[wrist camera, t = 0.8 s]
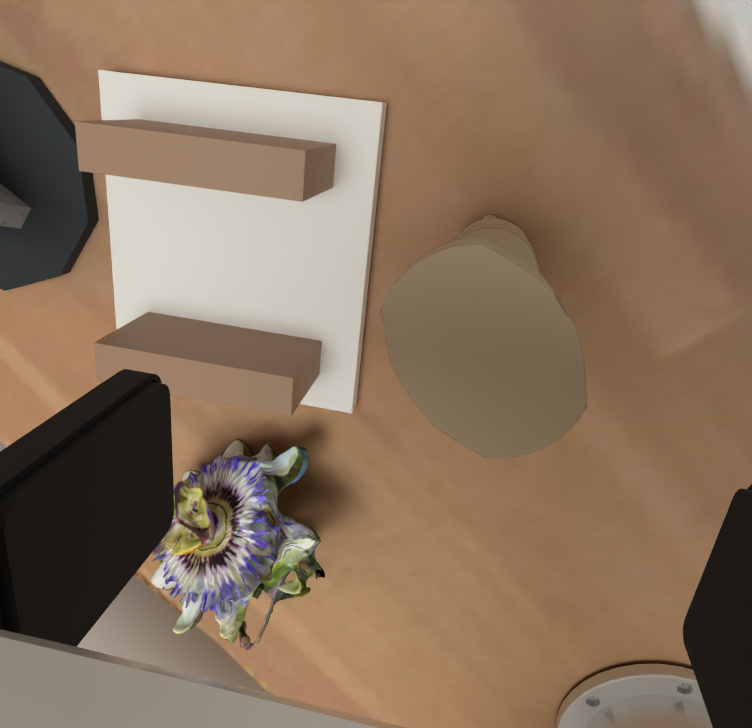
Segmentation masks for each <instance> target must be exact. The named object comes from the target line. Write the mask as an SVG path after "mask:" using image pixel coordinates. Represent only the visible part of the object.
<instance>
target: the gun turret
mask: <svg viewBox="0 0 752 728" xmlns="http://www.w3.org/2000/svg"><path fill="white" fill-rule="evenodd" d="M98 220H99V219H98V211H97V204H96V196H95V189H94V181H93V174H92V173H91V172H83V171H79V165H78V153H77V142H76V130H75V126H74V124H73V123H72V121H71V120H70V119H69V117H68V116H67V115H66V113H65V112H64V111H63V109H62V108H61V106H60V105H59V104H58V102H57V101H56V100H55V98H54V97H53V95H52V94H51V93H50V91H49V90H48V89H47V87H46V86H45V85H44V83H43V82H42V80H41V79H40V78H39V77H37V76H35V75H32V74H30V73H27V72H25V71H23V70H20V69H18V68H15V67H13V66H11V65H8V64H6V63H3V62H1V61H0V289H2V290H5V291H6V290H9V289H13V288H17V287H20V286H24V285H28V284H32V283H35V282H39V281H43V280H46V279H50V278H54V277H58V276H61V275H63V274H66V273H69V272H70V271H71V269H72V267H73V265H74V264H75V262H76V260H77V258H78V256H79V255H80V253H81V251H82V249H83V247H84V245H85V244H86V242H87V240H88V238H89V236H90V235H91V233H92V231H93V229H94V227H95V225H96V224H97V222H98Z"/></svg>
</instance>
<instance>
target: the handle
mask: <svg viewBox="0 0 752 728" xmlns="http://www.w3.org/2000/svg"><path fill="white" fill-rule="evenodd" d="M381 313H382V319H383V325H384V331H385V337H386V342H387V347H388V353H389V357H390V360H391V363H392V366H393V369H394V372H395V374H396V375H397V377H398V379H399V381H400V382H401V384H402V386H403V387H404V388H405V390H406V391H407V393H408V394H409V395H410V397H411V398H412V400H413V401H414V402H415V404H416V405H417V407H418V408H419V409H420V411H421V412H422V413H423V414H424V416H425V417H426V418H427V419H428V420H429V421H430V422H431V424H432V425H434V426H435V427H436V428H438V429H439V430H440V431H442V432H443V433H444V434H445V435H447V436H449V437H450V438H452V439H454V440H455V441H457V442H459V443H460V444H462V445H464V446H465V447H467V448H469V449H471V450H472V451H474V452H476V453H478V454H479V455H481V456H483V457H485V458H513V457H517V456H521V455H526V454H529V453H532V452H534V451H537V450H539V449H542V448H544V447H546V446H548V445H549V444H551V443H553V442H555V441H556V440H558V439H560V438H561V437H562V436H563V435H565V434H566V433H567V432H568V431H570V430H571V429H572V428H573V427H574V425H575V424H576V423H577V422H578V420H579V419H580V418H581V416H582V415H583V413H584V411H585V410H586V408H587V398H586V378H585V364H584V358H583V353H582V349H581V344H580V340H579V337H578V334H577V331H576V329H575V326H574V324H573V322H572V321H571V319H570V317H569V315H568V314H567V312H566V310H565V309H564V307H563V305H562V304H561V302H560V300H559V299H558V297H557V296H556V294H555V293H554V291H553V290H552V288H551V287H550V285H549V284H548V282H547V281H546V280H545V279H544V277H543V276H542V275H541V274H540V273H539V268H538V263H537V259H536V256H535V253H534V250H533V248H532V246H531V244H530V242H529V240H528V239H527V237H526V236H525V234H524V232H523V231H522V230H521V228H520V227H518V226H517V225H514V224H512V223H510V222H508V221H506V220H503V219H497V218H496V217H495V216H494V215H487V216H484V217H483V219H482V220H479V221H476V222H474V223H472V224H471V225H469V226H467V227H466V228H465V229H464V230H462V232H461V233H460V234H459V235H458V236H457V237H456V238H455V240H454V241H452V242H449V243H446V244H443V245H441V246H438V247H437V248H435V249H433V250H431V251H429V252H428V253H426V254H424V255H423V256H421V257H420V258H419V259H418V260H416V261H415V262H414V263H412V264H411V265H410V266H409V267H408V268H407V269H406V270H405V271H404V272H403V273H402V274H401V275H400V276H399V278H398V279H397V280H396V282H395V283H394V285H393V287H392V288H391V290H390V292H389V294H388V295H387V297H386V299H385V302H384V304H383V307H382V309H381Z"/></svg>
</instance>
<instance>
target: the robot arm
mask: <svg viewBox="0 0 752 728" xmlns="http://www.w3.org/2000/svg"><path fill="white" fill-rule="evenodd" d="M173 517H174V489H173V462H172V435H171V408H170V391H169V388H168V386H167V385H166V384H162V381H161V379H160V377H159V376H158V375H157V374H151V373H146V372H140V371H135V370H129V369H123V370H121V371H119V372H118V373H116V374H115V375H113V376H112V377H110V378H109V379H107V380H106V381H104V382H103V383H101V384H100V385H98V386H97V387H95V388H94V389H92V390H91V391H89V392H88V393H87V394H85V395H84V396H82V397H81V398H79V399H78V400H76V401H75V402H73V403H72V404H70V405H69V406H67V407H66V408H64V409H63V410H61V411H60V412H58V413H57V414H55V415H54V416H52V417H51V418H50V419H48V420H47V421H45V422H44V423H42V424H41V425H39V426H38V427H36V428H35V429H33V430H32V431H30V432H29V433H27V434H26V435H24V436H23V437H21V438H20V439H18V440H17V441H15V442H14V443H13V444H11V445H10V446H8V447H7V448H5V449H4V450H2V451H1V452H0V728H406V727H402V726H398V725H394V724H390V723H386V722H382V721H378V720H374V719H370V718H366V717H362V716H358V715H354V714H350V713H346V712H342V711H338V710H334V709H330V708H326V707H321V706H317V705H313V704H309V703H305V702H301V701H297V700H293V699H289V698H285V697H281V696H277V695H273V694H269V693H264V692H260V691H256V690H253V689H249V688H244V687H240V686H236V685H232V684H228V683H224V682H219V681H215V680H211V679H207V678H203V677H199V676H195V675H190V674H186V673H182V672H178V671H174V670H170V669H166V668H162V667H157V666H153V665H149V664H145V663H141V662H137V661H133V660H129V659H124V658H120V657H116V656H112V655H108V654H104V653H100V652H95V651H91V650H87V649H83V648H79V647H77V645H78V644H79V643H80V641H81V640H82V639H83V638H84V637H85V635H86V634H87V633H88V631H89V630H90V629H91V628H92V626H93V625H94V624H95V623H96V621H97V620H98V619H99V618H100V616H101V615H102V614H103V613H104V611H105V610H106V609H107V608H108V606H109V605H110V604H111V603H112V601H113V600H114V599H115V598H116V596H117V595H118V594H119V592H120V591H121V590H122V589H123V588H124V586H125V585H126V584H127V583H128V581H129V580H130V579H131V578H132V576H133V575H134V574H135V573H136V571H137V570H138V569H139V568H140V566H141V565H142V564H143V563H144V561H145V560H146V559H147V558H148V556H149V555H150V554H151V553H152V551H153V550H154V549H155V548H156V546H157V545H158V544H159V543H160V541H161V540H162V539H163V538H164V536H165V535H166V534H167V532H168V531H169V529H170V527H171V525H172V521H173ZM683 639H684V644H685V647H686V650H687V653H688V656H689V659H690V662H691V665H692V668H693V670H692V669H688V668H684V667H681V666H674V665H665V664H635V665H628V666H622V667H617V668H614V669H611V670H607V671H604V672H601V673H599V674H597V675H595V676H593V677H591V678H589V679H587V680H585V681H584V682H582V683H581V684H580V685H578V686H577V687H576V688H574V689H573V690H572V691H571V692H570V694H569V695H568V696H567V697H566V698H565V700H564V701H563V703H562V705H561V707H560V709H559V711H558V713H557V719H556V725H555V726H556V728H752V484H751V485H750V487H749V488H748V489H747V490H746V489H739V490H738V491H737V492H736V493H735V495H734V497H733V499H732V501H731V504H730V506H729V509H728V512H727V514H726V517H725V519H724V522H723V524H722V527H721V529H720V532H719V534H718V537H717V539H716V542H715V544H714V547H713V549H712V552H711V554H710V557H709V559H708V562H707V564H706V567H705V570H704V572H703V575H702V577H701V580H700V582H699V585H698V587H697V590H696V592H695V595H694V597H693V600H692V602H691V605H690V607H689V610H688V612H687V615H686V617H685V621H684V626H683Z"/></svg>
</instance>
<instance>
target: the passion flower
mask: <svg viewBox="0 0 752 728" xmlns="http://www.w3.org/2000/svg"><path fill="white" fill-rule="evenodd" d="M308 467H309V454H308V451H307V449H305V448H302V447H297V446H294V447H292V448H290V449H289V450H287V451H286V452H284V453H282V454H280V455H279V456H278V457H277V454H276V452H275V449H274V447H273V446H272V444H271V443H270V442H269V443H266V445H265V446H264V447H263V448H262V449H261V450H260V452H259V454H257V455H255V456H253V457H252V456H251V455H250V453H249V450H248V448H247V446H246V445H245V444H244V443H243V442H242V441H240V440H236V441H234V442H233V443H232V444H231V445H230V446H229V447H228V448H227V449H226V451H225V452H224V455H223V456H220V455H218V456H217V457H216V459H214V460H213V461H212V462H211V463H210V464H209V465H203V466H202V467H201V468H202V472H199V471H197V470H189V471H187V472H185V474H184V476H183V479H182V481H180V482H178V483H177V485H175V486H174V487H173V489H174V517H173V521H172V525H171V527H170V529H169V531H168V532H167V534H166V535H165V536H164V538H163V539H162V540H161V541H160V543H159V544H158V545H157V546H156V548H155V549H154V550H153V551H152V554H156V558H155V559H154V560H153V561H155V560H159V562H160V565H159V567H158V568H157V569H156V571H155V573H154V575H153V576H152V578H151V583H152V584H153V585H154V586H156V587H158V588H161V589H165V590H171V589H173V591H172V592H171V593H170V595H172V597H173V598H175V597H176V596H177V595H178V594H182V593H185V594H184V596H183V598H182V599H181V600H180V602H184V603H183V606H182V609H183V613H182V614H181V615H180V617H179V619H178V620H177V622H176V626H175V627H174V628H173V631H174V632H175V633H177V634H181V633H184V632H186V631H187V630H190V629H191V628H193V627H194V626H195V625H196V624H197V623H198V622H199V621H200V620H201V618H202V615H203V612H206V611H207V609H208V608H209V607H210V610H214V611H216V612H217V613H216V615H215V619H216V620H217V621H218V622H219V624H220V629H221V631H220V635H221V636H222V637H223V638H224V639H225V640H228V641H229V642H230V643H232V642H234V641H235V639H236V637H237V635H238V633H239V639H240V647H243V648H245V650H249V649H251V648H252V647H253V646H255V645H256V644H257V643H258V642H259V641H260V638H261V636H262V634H263V632H264V630H265V628H266V626H267V624H268V621H269V618H270V615H271V613H272V612H273V606H274V605H275V603H276V602H277V601H279V600H284V599H287V598H294V597H303V596H304V595H306V594H307V593H309V592H310V591H311V590H310V588H308V587H306V580H307V579H308V578H309V577H310V576H312V575H313V576H314V577H315V578H316V579H317V577H323V578H325V573H324V571H323V569H322V568H321V567H320V565H319V563H318V562H316V559H315V554H314V551H315V548H316V546H317V545H318V544H319V543H320V542H321V540H320V537H319V536H318V535H317V533H316V532H315V531H314V530H313V529H312V528H311V527H308V526H306V525H304V524H302V523H300V522H298V521H297V520H295V519H293V518H290V517H287V516H285V515H283V514H282V513H281V512H280V511H279V509H278V508H277V497H278V495H279V494H280V493H281V491H282V490H283V489H284V488H285V487H287V486H288V485H289V484H291V483H295V482H297V481H298V480H300V478H301V477H302V476H303V475H304V474H305V473H306V471H307V469H308ZM301 562H303V563H305V564H306V565H307V566H308V568H307V569H302V568H301V566H300V563H301ZM292 569H293V570H294V571H295V580H294V581H289V582H287V583H284V582H285V579H286V577H287V575H288V574H289V573H290V572H291V570H292ZM262 590H264V591H265V592H266V593H267V594H268V595H269V596H270V597H271V598H272V602H271V605H270V607H269V610H268V613H267V614H266V616H265V621H264V624H263V626H262V628H261V630H260V632H259V634H258V637H257V639H256V641H255V643H254V644H251V642H250V637H249V636H248V635H247V634H246V633H245V631H246V622H245V621H243V620H244V617H245V613H246V609H247V606H248V603H249V600H250V599H251V598H252V596H253V597H256V599H258V598H259V596H260V594H261V592H262Z"/></svg>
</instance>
